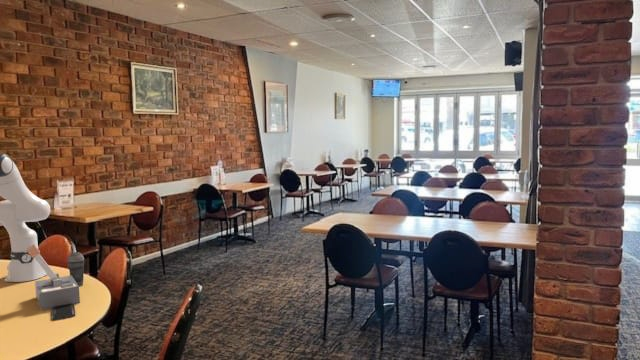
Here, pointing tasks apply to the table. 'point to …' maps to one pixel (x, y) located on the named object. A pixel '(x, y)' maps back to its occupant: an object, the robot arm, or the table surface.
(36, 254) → the lever
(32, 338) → the table surface
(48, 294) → the switch box
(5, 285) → the table surface
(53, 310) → the phone
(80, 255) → the beverage cup
